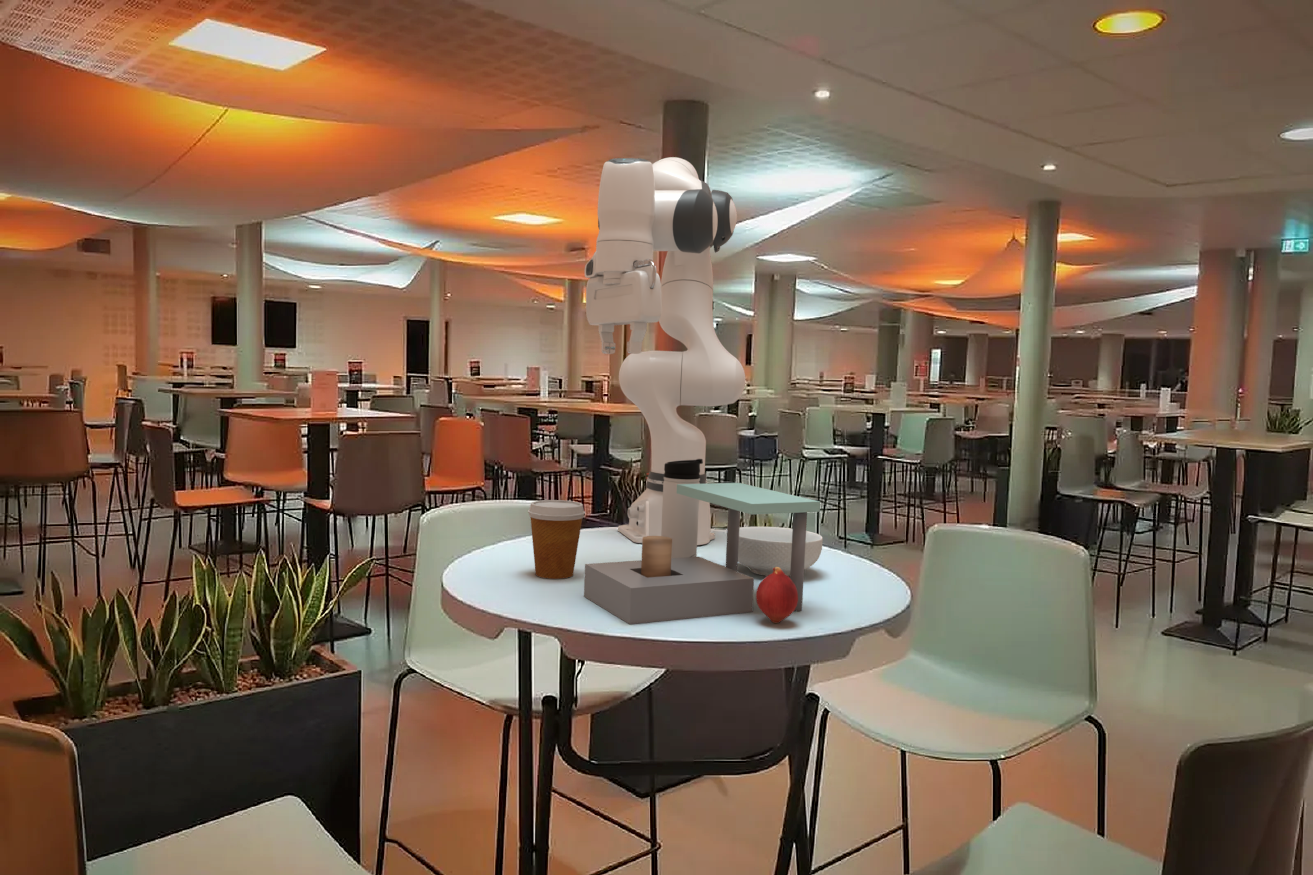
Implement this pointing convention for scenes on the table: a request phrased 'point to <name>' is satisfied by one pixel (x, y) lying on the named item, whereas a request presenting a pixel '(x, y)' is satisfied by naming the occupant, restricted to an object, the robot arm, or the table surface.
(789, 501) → the awning
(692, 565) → the socket block
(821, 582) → the table surface
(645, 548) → the walnut peg
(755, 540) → the cereal bowl
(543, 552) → the disposable coffee cup
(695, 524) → the travel mug
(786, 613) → the onion
